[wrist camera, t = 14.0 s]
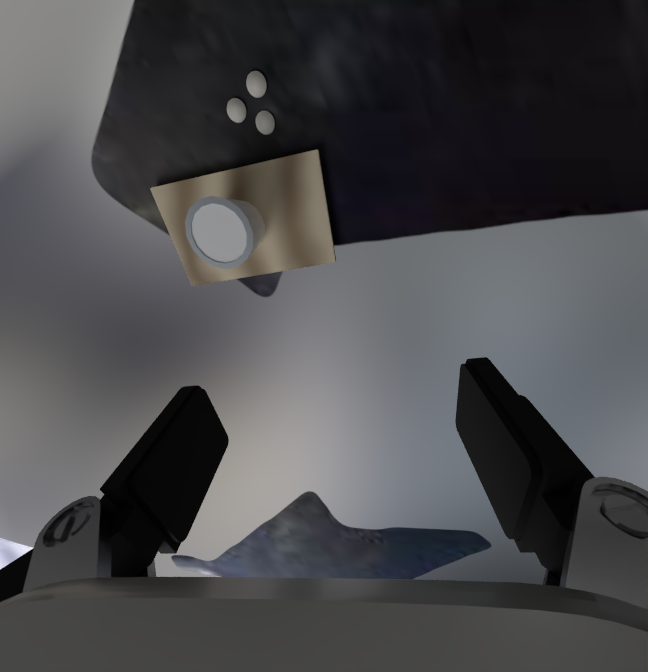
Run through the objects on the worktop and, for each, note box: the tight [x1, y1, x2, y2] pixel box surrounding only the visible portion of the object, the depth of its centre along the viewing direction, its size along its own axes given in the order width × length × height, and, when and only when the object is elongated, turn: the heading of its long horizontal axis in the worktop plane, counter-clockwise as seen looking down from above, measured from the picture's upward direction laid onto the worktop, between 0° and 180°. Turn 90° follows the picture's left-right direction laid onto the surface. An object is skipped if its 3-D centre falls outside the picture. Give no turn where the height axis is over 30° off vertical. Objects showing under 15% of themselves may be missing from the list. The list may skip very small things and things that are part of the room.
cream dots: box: [227, 71, 275, 135], centre depth 28 cm, size 5×5×1 cm
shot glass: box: [185, 196, 265, 269], centre depth 30 cm, size 7×7×7 cm
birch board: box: [150, 149, 336, 286], centre depth 33 cm, size 20×12×1 cm, turn 100°
